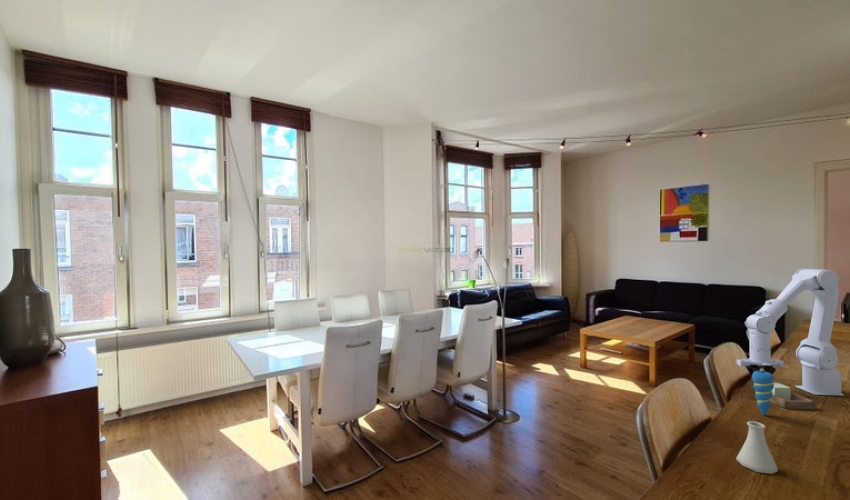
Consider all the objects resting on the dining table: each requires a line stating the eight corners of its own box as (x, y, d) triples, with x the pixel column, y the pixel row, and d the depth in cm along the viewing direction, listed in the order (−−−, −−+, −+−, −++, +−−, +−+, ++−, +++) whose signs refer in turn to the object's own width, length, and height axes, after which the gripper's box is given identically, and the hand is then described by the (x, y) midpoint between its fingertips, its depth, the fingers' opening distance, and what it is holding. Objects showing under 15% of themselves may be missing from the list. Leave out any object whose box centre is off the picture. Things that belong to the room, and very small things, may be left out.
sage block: (790, 401, 127) (790, 386, 127) (774, 400, 127) (774, 386, 127) (766, 389, 137) (765, 376, 137) (751, 389, 138) (751, 375, 138)
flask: (729, 458, 93) (728, 418, 93) (756, 456, 94) (755, 416, 94) (757, 475, 86) (756, 432, 86) (786, 474, 86) (785, 430, 86)
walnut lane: (815, 409, 120) (815, 402, 120) (784, 408, 121) (784, 401, 121) (794, 400, 128) (794, 393, 128) (766, 399, 128) (766, 392, 128)
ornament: (779, 419, 113) (778, 370, 113) (759, 418, 114) (758, 369, 114) (767, 412, 118) (766, 364, 118) (748, 411, 120) (748, 364, 120)
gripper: (746, 351, 133) (747, 389, 133) (791, 351, 132) (791, 390, 132) (732, 345, 140) (732, 382, 140) (774, 346, 139) (774, 383, 139)
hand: (760, 385), depth 137 cm, fingers closed on sage block
